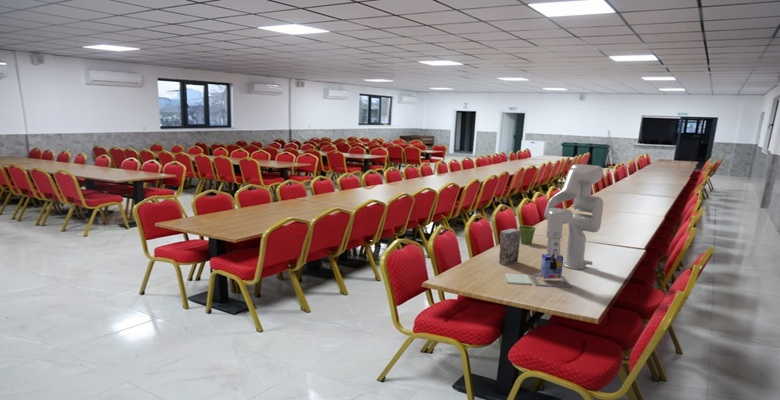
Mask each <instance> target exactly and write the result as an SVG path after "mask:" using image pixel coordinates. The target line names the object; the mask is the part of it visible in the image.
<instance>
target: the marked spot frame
mask: <svg viewBox="0 0 780 400" xmlns="http://www.w3.org/2000/svg"><path fill="white" fill-rule="evenodd" d="M529 275H530V278H531V279H532V281H533V282H534V285H535V287H550V288H551V287H552V288H568V289H572V288H573V287H572V285H571V283H570V282H569V281H568V280H567V278H566V277H565V276H564V275H562V277H561V281H562V282H563V283H564V285H562V284H561V285H560V284H548V283H547V284H546V283H539V281H538V279H537V277H541V278H543V277H542V276H541V274H539V273H538V274H537V273H536V274H534V273H533V274H532V273H530V274H529Z"/></svg>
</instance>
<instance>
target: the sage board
mask: <svg viewBox="0 0 780 400" xmlns="http://www.w3.org/2000/svg"><path fill="white" fill-rule="evenodd" d="M504 277H505V279H506V282H507V284H510V285H511V284H512V285H527V286H532V283H533V282H532V281H531V279H530V277H529V275H528V274H523V273H522V274H521V273H504Z"/></svg>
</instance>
